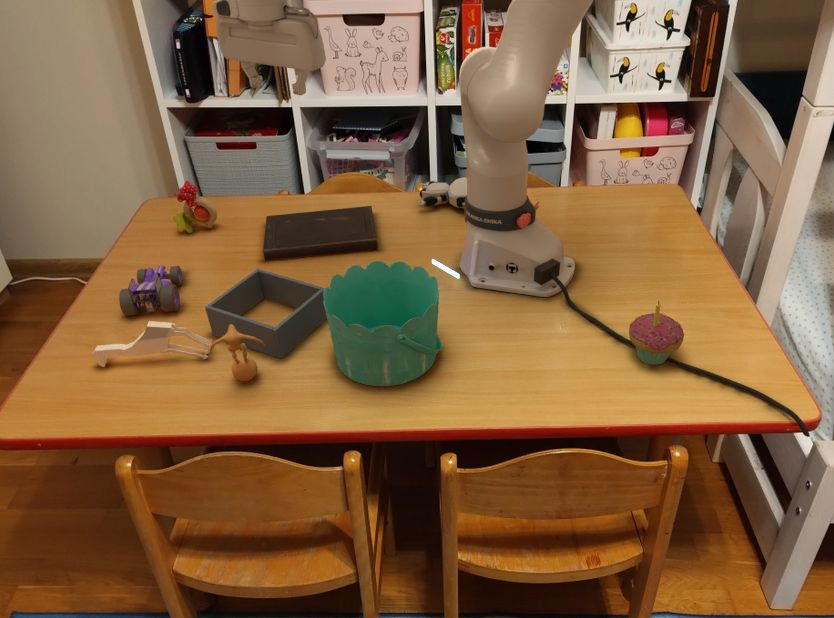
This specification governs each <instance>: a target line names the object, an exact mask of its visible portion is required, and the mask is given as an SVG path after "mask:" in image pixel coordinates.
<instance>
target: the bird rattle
mask: <svg viewBox="0 0 834 618" xmlns="http://www.w3.org/2000/svg"><path fill="white" fill-rule="evenodd" d="M198 191H199V187H198V186H197V185H195V184H191V182H190V180H188V179H187V180H185V181H184V184H183V186H182V187H179V189H178V192H179V193H173V196H175V197H177V198H176V200H177V202H179V203H182V202H184V204H183V211H182V212H177V213H176V214H174V215H173V221H174V222H175V223H176V224H177V231H178V232H180V233H182V232H183V231H184V230H185V231H186V232H187V233H188V234H191V233H193V230H194V229H193V227H192V226H194V225H197V226H199V227H202V228H203V227H205V228H207V229H210V230H211V229H213V227H214V224H215V222H216V221H217V218H218V212H217V209H216V207H215V205H214V204H213V203H212V202H211V201H209V200H208V199H206V198H205V197H201V196H198V195H197V194H198ZM193 207H194V208H193Z"/></svg>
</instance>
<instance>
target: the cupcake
mask: <svg viewBox="0 0 834 618" xmlns="http://www.w3.org/2000/svg"><path fill="white" fill-rule="evenodd" d="M654 309H655V311H654V312H651V313H645V314H642V315H638V316H637V317H636V318H635V319H634V320H632V321H631V322H630V324H629V328H628V336H629V340H630V341H631V342H632V343H633V344H634V345H635V346H636V348H635V349H636V350H635V351H636V356H637V357H638V359H639V360H640V361H641V362H643V363H645V364H648V365H653V366H655V365H656V366H657V365H661V364H664V363H666V359H667V358H668V357H669V358H670V355H672V353H673V352H674V351H677V350H678V349H680V348H681V346H682V343H683V342H684V337H685V333H684V329H683V327H682V325H681V323H679V322H678V321H677V320H675V319H674V318H672V317H671V316H668V315H667V314H663V313H660V311H661V303H660V300H657V303H655V308H654Z"/></svg>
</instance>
